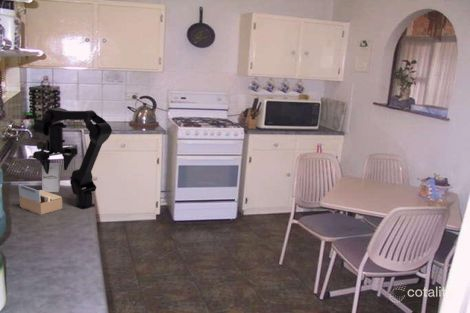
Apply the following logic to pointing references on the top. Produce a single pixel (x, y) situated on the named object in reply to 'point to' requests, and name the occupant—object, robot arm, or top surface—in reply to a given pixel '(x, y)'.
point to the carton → (42, 203)
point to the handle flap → (29, 193)
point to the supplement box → (51, 178)
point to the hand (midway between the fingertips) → (56, 171)
